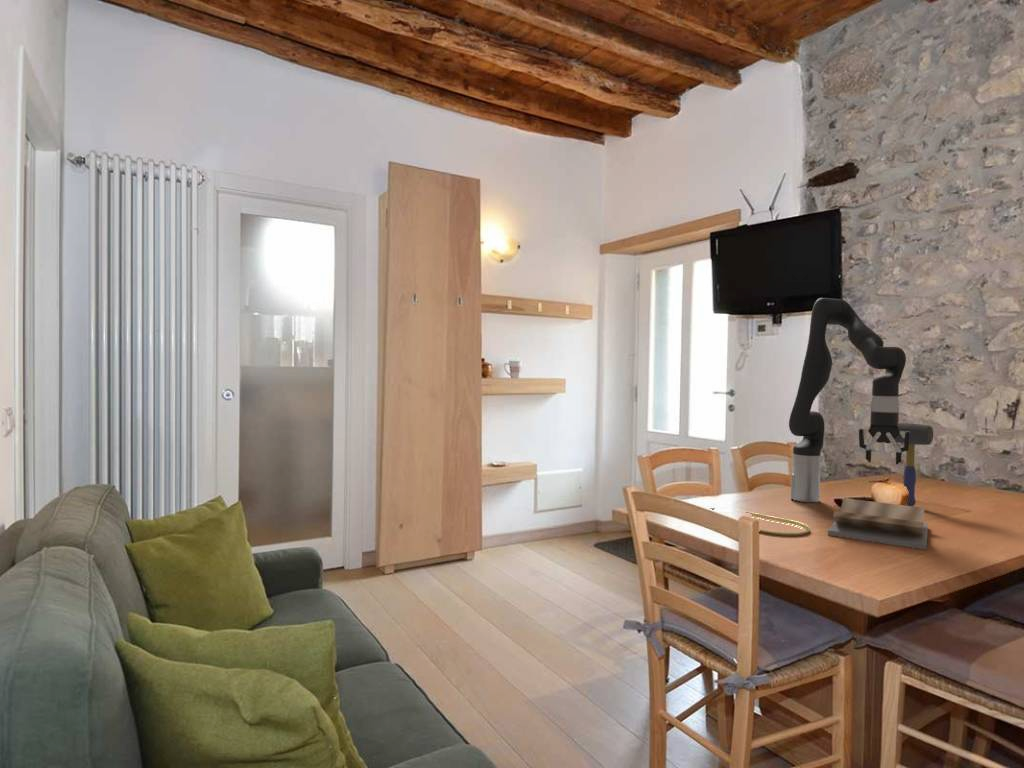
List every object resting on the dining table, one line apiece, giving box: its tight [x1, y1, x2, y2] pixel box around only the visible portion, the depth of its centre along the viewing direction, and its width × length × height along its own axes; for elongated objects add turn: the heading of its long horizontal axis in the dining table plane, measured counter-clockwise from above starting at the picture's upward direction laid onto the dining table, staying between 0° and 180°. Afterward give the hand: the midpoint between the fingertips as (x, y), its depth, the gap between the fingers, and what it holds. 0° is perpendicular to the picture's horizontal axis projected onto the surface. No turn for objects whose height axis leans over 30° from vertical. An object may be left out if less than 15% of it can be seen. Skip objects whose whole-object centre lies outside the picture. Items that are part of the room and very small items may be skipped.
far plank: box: [840, 497, 925, 526], centre depth 191 cm, size 22×8×2 cm, turn 55°
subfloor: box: [827, 520, 929, 551], centre depth 184 cm, size 24×28×3 cm
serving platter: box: [709, 507, 811, 537], centre depth 193 cm, size 19×35×2 cm, turn 42°
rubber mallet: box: [896, 422, 934, 507], centre depth 219 cm, size 12×8×30 cm, turn 39°
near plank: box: [832, 510, 923, 536], centre depth 178 cm, size 22×8×2 cm, turn 55°
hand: (883, 462), depth 191 cm, fingers open, 7 cm apart
